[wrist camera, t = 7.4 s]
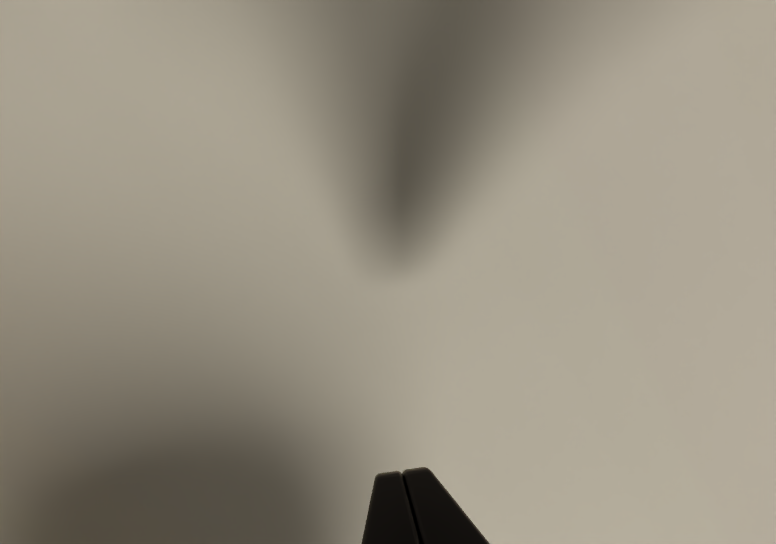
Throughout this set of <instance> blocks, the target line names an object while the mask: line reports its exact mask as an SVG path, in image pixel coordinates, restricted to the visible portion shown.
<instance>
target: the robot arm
mask: <svg viewBox="0 0 776 544" xmlns="http://www.w3.org/2000/svg"><path fill="white" fill-rule="evenodd" d="M362 544H489V542H488V541H487V540H486V539H485V537H484V536H483V535H482V534H481V532H480V531H479V530H478V529H477V528H476V526H475V525H474V524H473V523H472V521H471V520H470V519H469V518H468V516H467V515H466V514H465V513H464V511H463V510H462V509H461V508H460V506H459V505H458V504H457V503H456V501H455V500H454V499H453V498H452V496H451V495H450V494H449V493H448V491H447V490H446V489H445V488H444V486H443V485H442V484H441V483H440V482H439V480H438V479H437V478H436V477H435V475H434V474H433V473H432V472H431V471H430V470H429V469H428V468H426V467H421V468H414V469H407V470H404V471H403V473H402V474H401V472H399V471H393V472H387V473H380V474H378V475H377V476H376V477H375V481H374V486H373V490H372V495H371V500H370V505H369V510H368V515H367V520H366V525H365V529H364V534H363V539H362Z"/></svg>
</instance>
